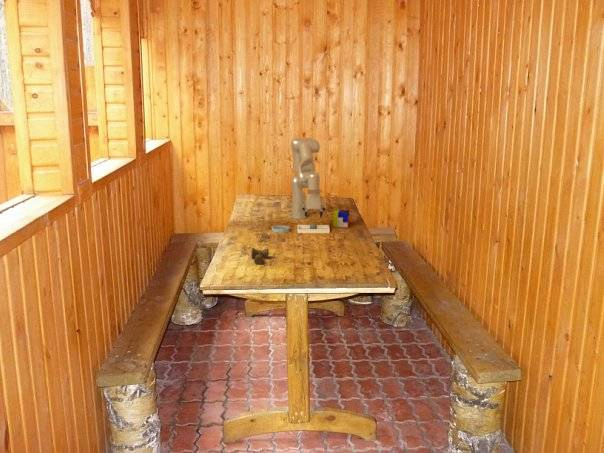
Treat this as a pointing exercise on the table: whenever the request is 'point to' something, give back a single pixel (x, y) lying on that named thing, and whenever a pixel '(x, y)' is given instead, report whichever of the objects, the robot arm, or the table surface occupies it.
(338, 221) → the puzzle toy
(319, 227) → the white rectangular frame
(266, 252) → the kendama
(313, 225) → the ball
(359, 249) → the table surface
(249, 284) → the table surface
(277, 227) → the bowl
